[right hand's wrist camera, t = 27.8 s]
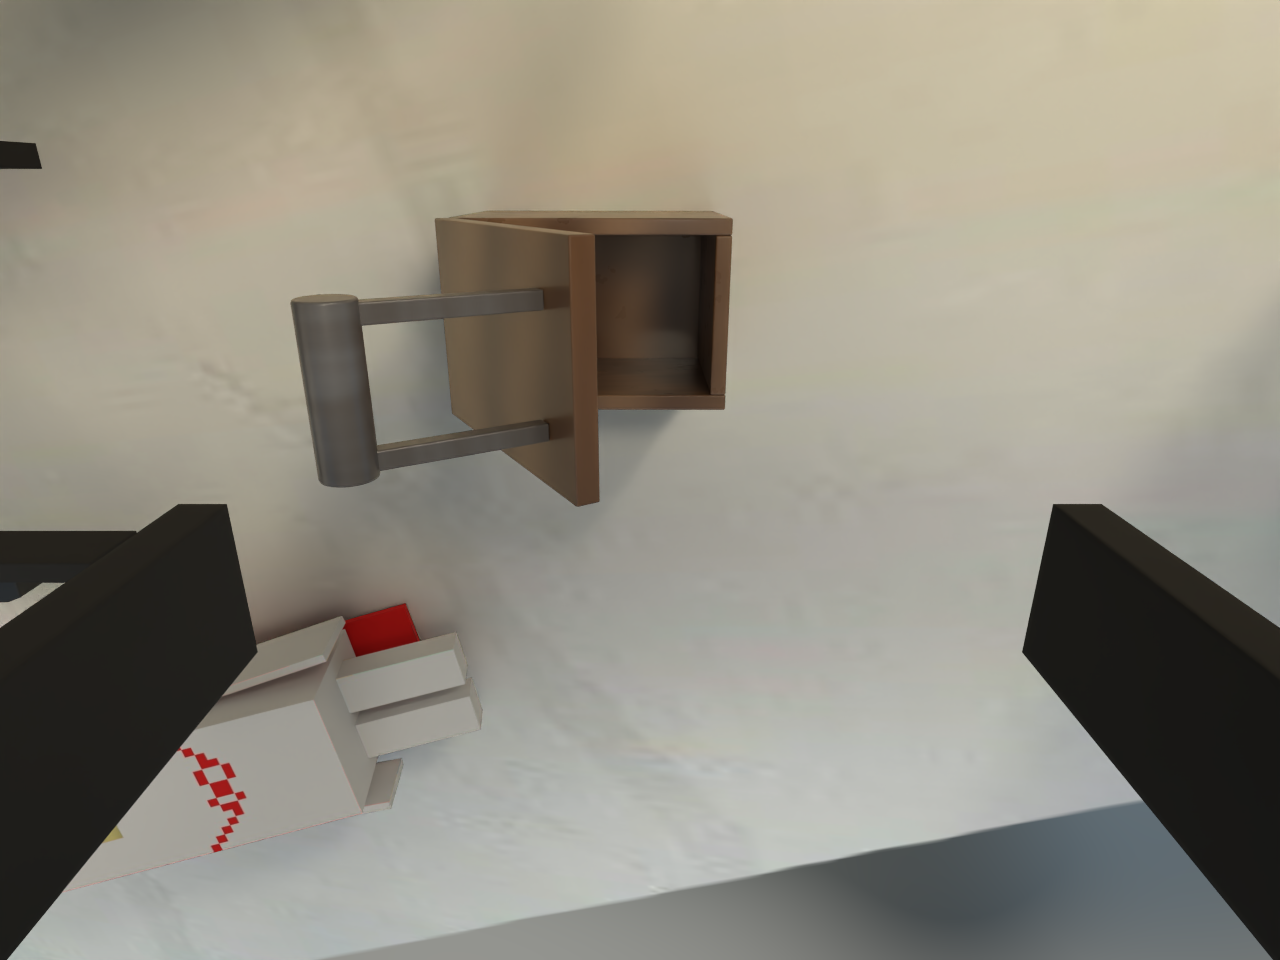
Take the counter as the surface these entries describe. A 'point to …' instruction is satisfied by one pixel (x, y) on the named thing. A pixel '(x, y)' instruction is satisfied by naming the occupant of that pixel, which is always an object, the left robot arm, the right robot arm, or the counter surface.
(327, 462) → the lid
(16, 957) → the counter surface
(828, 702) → the counter surface
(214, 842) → the toy
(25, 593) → the left robot arm
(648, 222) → the brown hollow box
